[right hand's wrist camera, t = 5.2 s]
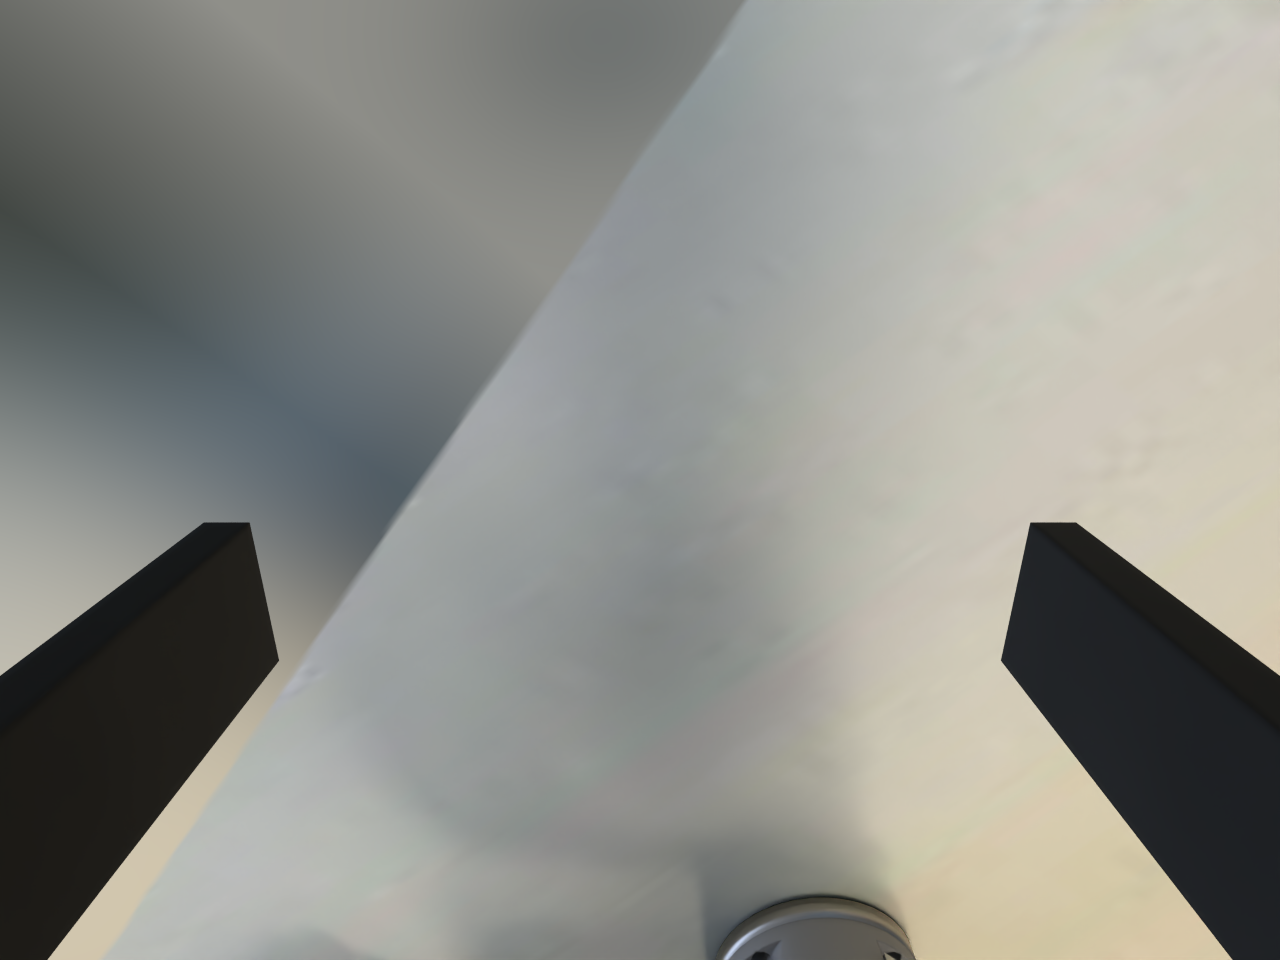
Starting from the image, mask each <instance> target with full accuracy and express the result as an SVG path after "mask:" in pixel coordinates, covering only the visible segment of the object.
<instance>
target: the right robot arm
mask: <svg viewBox="0 0 1280 960" xmlns="http://www.w3.org/2000/svg"><path fill="white" fill-rule="evenodd" d="M278 661H279V658H278V654H277V649H276V644H275V640H274V635H273V630H272V626H271V621H270V616H269V611H268V607H267V602H266V597H265V593H264V588H263V583H262V579H261V574H260V569H259V565H258V560H257V555H256V550H255V546H254V541H253V537H252V532H251V527H250V523H203V524H201V525H200V526H199V527H197V528H196V529H195V530H193V531H192V532H191V533H189V534H188V535H187V536H185V537H184V538H183V539H181V540H180V541H179V542H177V543H176V544H175V545H174V546H172V547H171V548H170V549H168V550H167V551H166V552H164V553H163V554H162V555H160V556H159V557H158V558H156V559H155V560H154V561H152V562H151V563H150V564H148V565H147V566H146V567H144V568H143V569H142V570H140V571H139V572H138V573H136V574H135V575H134V576H132V577H131V578H130V579H128V580H127V581H126V582H124V583H123V584H122V585H120V586H119V587H118V588H116V589H115V590H114V591H112V592H111V593H110V594H108V595H107V596H106V597H104V598H103V599H102V600H100V601H99V602H98V603H96V604H95V605H94V606H92V607H91V608H90V609H89V610H87V611H86V612H84V613H83V614H82V615H80V616H79V617H78V618H77V619H75V620H74V621H72V622H71V623H70V624H69V625H67V626H66V627H65V628H63V629H62V630H61V631H59V632H58V633H57V634H55V635H54V636H53V637H51V638H50V639H49V640H47V641H46V642H45V643H43V644H42V645H41V646H39V647H38V648H37V649H35V650H34V651H33V652H31V653H30V654H29V655H27V656H26V657H25V658H23V659H22V660H21V661H19V662H18V663H17V664H15V665H14V666H13V667H11V668H10V669H9V670H7V671H6V672H5V673H3V674H2V675H1V676H0V960H48V958H49V957H50V956H51V954H52V953H53V952H54V951H55V949H56V948H57V947H58V945H59V944H60V943H61V941H62V940H63V939H64V938H65V936H66V935H67V934H68V932H69V931H70V930H71V929H72V927H73V926H74V925H75V923H76V922H77V921H78V919H79V918H80V917H81V916H82V914H83V913H84V912H85V910H86V909H87V908H88V907H89V905H90V904H91V903H92V901H93V900H94V899H95V898H96V896H97V895H98V894H99V892H100V891H101V890H102V889H103V887H104V886H105V885H106V883H107V882H108V881H109V879H110V878H111V877H112V876H113V874H114V873H115V872H116V870H117V869H118V868H119V867H120V865H121V864H122V863H123V861H124V860H125V859H126V858H127V856H128V855H129V854H130V852H131V851H132V850H133V849H134V847H135V846H136V845H137V843H138V842H139V841H140V839H141V838H142V837H143V836H144V834H145V833H146V832H147V830H148V829H149V828H150V827H151V825H152V824H153V823H154V821H155V820H156V819H157V818H158V816H159V815H160V814H161V812H162V811H163V810H164V808H165V807H166V806H167V805H168V803H169V802H170V801H171V799H172V798H173V797H174V796H175V794H176V793H177V792H178V790H179V789H180V788H181V787H182V785H183V784H184V783H185V781H186V780H187V779H188V777H189V776H190V775H191V774H192V772H193V771H194V770H195V768H196V767H197V766H198V764H199V763H200V762H201V761H202V759H203V758H204V757H205V756H206V754H207V753H208V752H209V750H210V749H211V748H212V746H213V745H214V744H215V743H216V741H217V740H218V739H219V737H220V736H221V735H222V734H223V732H224V731H225V730H226V728H227V727H228V726H229V725H230V723H231V722H232V721H233V719H234V718H235V717H236V715H237V714H238V713H239V712H240V710H241V709H242V708H243V706H244V705H245V704H246V703H247V701H248V700H249V699H250V697H251V696H252V695H253V694H254V692H255V691H256V690H257V688H258V687H259V686H260V684H261V683H262V682H263V681H264V679H265V678H266V677H267V675H268V674H269V673H270V672H271V670H272V669H273V668H274V666H275V665H276V664H277V662H278ZM1001 661H1002V663H1003V664H1004V665H1005V666H1006V668H1007V669H1008V670H1009V672H1010V673H1011V674H1012V675H1013V677H1014V678H1015V679H1016V681H1017V682H1018V683H1019V685H1020V686H1021V687H1022V688H1023V690H1024V691H1025V692H1026V694H1027V695H1028V696H1029V697H1030V699H1031V700H1032V701H1033V703H1034V704H1035V705H1036V706H1037V708H1038V709H1039V710H1040V712H1041V713H1042V714H1043V716H1044V717H1045V718H1046V719H1047V721H1048V722H1049V723H1050V725H1051V726H1052V727H1053V728H1054V730H1055V731H1056V732H1057V734H1058V735H1059V736H1060V737H1061V739H1062V740H1063V741H1064V743H1065V744H1066V745H1067V747H1068V748H1069V749H1070V750H1071V752H1072V753H1073V754H1074V756H1075V757H1076V758H1077V759H1078V761H1079V762H1080V763H1081V765H1082V766H1083V767H1084V768H1085V770H1086V771H1087V772H1088V774H1089V775H1090V776H1091V777H1092V779H1093V780H1094V781H1095V783H1096V784H1097V785H1098V787H1099V788H1100V789H1101V790H1102V792H1103V793H1104V794H1105V796H1106V797H1107V798H1108V799H1109V801H1110V802H1111V803H1112V805H1113V806H1114V807H1115V808H1116V810H1117V811H1118V812H1119V814H1120V815H1121V816H1122V818H1123V819H1124V820H1125V821H1126V823H1127V824H1128V825H1129V827H1130V828H1131V829H1132V830H1133V832H1134V833H1135V834H1136V836H1137V837H1138V838H1139V839H1140V841H1141V842H1142V843H1143V845H1144V846H1145V847H1146V849H1147V850H1148V851H1149V852H1150V854H1151V855H1152V856H1153V858H1154V859H1155V860H1156V861H1157V863H1158V864H1159V865H1160V867H1161V868H1162V869H1163V870H1164V872H1165V873H1166V874H1167V876H1168V877H1169V878H1170V879H1171V881H1172V882H1173V883H1174V885H1175V886H1176V887H1177V889H1178V890H1179V891H1180V892H1181V894H1182V895H1183V896H1184V898H1185V899H1186V900H1187V901H1188V903H1189V904H1190V905H1191V907H1192V908H1193V909H1194V910H1195V912H1196V913H1197V914H1198V916H1199V917H1200V918H1201V920H1202V921H1203V922H1204V923H1205V925H1206V926H1207V927H1208V929H1209V930H1210V931H1211V932H1212V934H1213V935H1214V936H1215V938H1216V939H1217V940H1218V941H1219V943H1220V944H1221V945H1222V947H1223V948H1224V949H1225V951H1226V952H1227V953H1228V954H1229V956H1230V957H1231V958H1232V960H1280V676H1279V675H1278V674H1277V673H1275V672H1274V671H1273V670H1271V669H1270V668H1269V667H1267V666H1266V665H1265V664H1263V663H1262V662H1261V661H1259V660H1258V659H1257V658H1255V657H1254V656H1253V655H1251V654H1250V653H1249V652H1247V651H1246V650H1245V649H1243V648H1242V647H1241V646H1239V645H1238V644H1237V643H1235V642H1234V641H1233V640H1231V639H1230V638H1229V637H1227V636H1226V635H1225V634H1223V633H1222V632H1221V631H1219V630H1218V629H1217V628H1215V627H1214V626H1213V625H1211V624H1210V623H1209V622H1208V621H1206V620H1205V619H1204V618H1202V617H1201V616H1200V615H1198V614H1197V613H1196V612H1194V611H1193V610H1192V609H1190V608H1189V607H1188V606H1186V605H1185V604H1184V603H1182V602H1181V601H1180V600H1178V599H1177V598H1176V597H1174V596H1173V595H1172V594H1170V593H1169V592H1168V591H1166V590H1165V589H1164V588H1162V587H1161V586H1160V585H1158V584H1157V583H1156V582H1154V581H1153V580H1152V579H1150V578H1149V577H1148V576H1146V575H1145V574H1144V573H1142V572H1141V571H1140V570H1138V569H1137V568H1136V567H1134V566H1133V565H1132V564H1130V563H1129V562H1128V561H1126V560H1125V559H1124V558H1122V557H1121V556H1120V555H1118V554H1117V553H1116V552H1114V551H1113V550H1112V549H1110V548H1109V547H1108V546H1106V545H1105V544H1104V543H1103V542H1101V541H1100V540H1099V539H1097V538H1096V537H1095V536H1093V535H1092V534H1091V533H1089V532H1088V531H1087V530H1085V529H1084V528H1083V527H1081V526H1080V525H1079V524H1077V523H1030V527H1029V532H1028V536H1027V541H1026V546H1025V550H1024V555H1023V560H1022V565H1021V569H1020V574H1019V579H1018V583H1017V588H1016V593H1015V597H1014V602H1013V607H1012V611H1011V616H1010V621H1009V625H1008V630H1007V635H1006V639H1005V644H1004V649H1003V654H1002V658H1001ZM716 960H916V959H915V956H914V953H913V951H912V948H911V945H910V942H909V940H908V938H907V936H906V935H905V933H904V932H903V930H902V929H901V928H900V927H899V926H898V924H896V923H895V922H894V921H893V920H892V919H891V918H889V917H888V916H887V915H885V914H884V913H882V912H880V911H878V910H876V909H874V908H872V907H870V906H867V905H864V904H862V903H858V902H854V901H850V900H845V899H838V898H806V899H799V900H793V901H789V902H785V903H781V904H778V905H775V906H772V907H770V908H767V909H765V910H762V911H760V912H759V913H757V914H755V915H753V916H751V917H750V918H748V919H747V920H745V921H744V922H743V923H741V924H740V925H739V926H738V927H736V928H735V929H734V930H733V931H732V932H731V933H730V935H729V936H728V937H727V938H726V940H725V941H724V942H723V944H722V946H721V947H720V949H719V952H718V954H717V957H716Z"/></svg>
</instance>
